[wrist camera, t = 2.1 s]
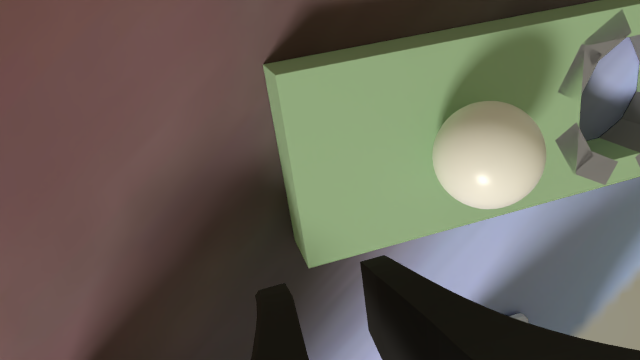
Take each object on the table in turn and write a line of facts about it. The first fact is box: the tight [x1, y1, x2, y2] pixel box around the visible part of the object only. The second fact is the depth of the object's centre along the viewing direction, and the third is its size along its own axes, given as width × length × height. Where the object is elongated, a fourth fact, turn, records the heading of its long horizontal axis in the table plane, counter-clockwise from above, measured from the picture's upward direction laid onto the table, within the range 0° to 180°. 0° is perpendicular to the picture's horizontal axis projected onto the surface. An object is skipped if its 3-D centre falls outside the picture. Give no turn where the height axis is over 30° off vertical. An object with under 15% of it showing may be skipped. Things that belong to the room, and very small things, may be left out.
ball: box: [432, 101, 546, 209], centre depth 19 cm, size 4×4×4 cm
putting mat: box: [263, 0, 640, 268], centre depth 22 cm, size 8×20×2 cm, turn 98°
